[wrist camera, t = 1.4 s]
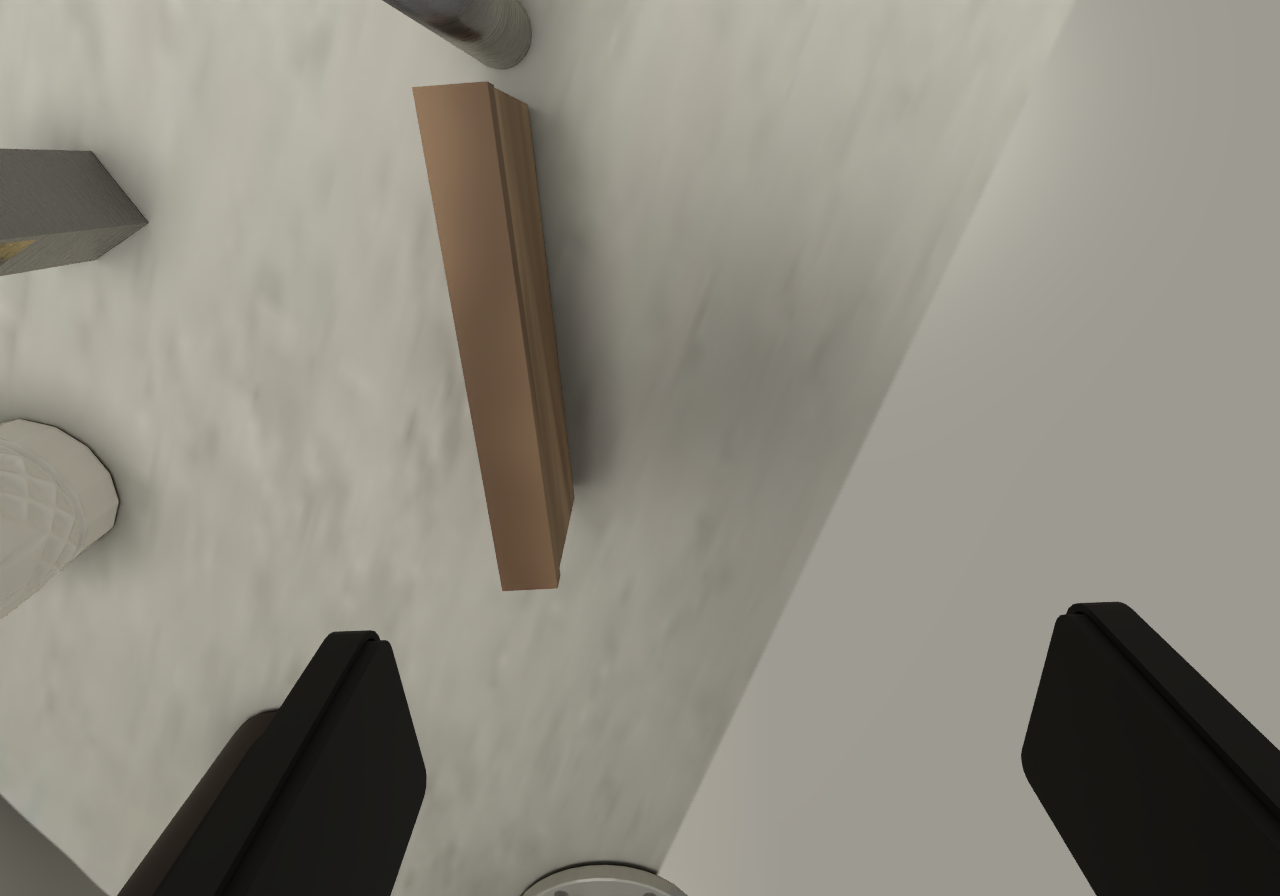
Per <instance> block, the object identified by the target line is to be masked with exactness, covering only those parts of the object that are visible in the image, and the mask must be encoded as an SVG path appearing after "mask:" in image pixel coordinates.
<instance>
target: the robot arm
mask: <svg viewBox="0 0 1280 896" xmlns="http://www.w3.org/2000/svg"><path fill="white" fill-rule="evenodd" d="M1021 759H1022V766H1023V770H1024V773H1025V775H1026V778H1027V780H1028V782H1029V783H1030V785H1031V787H1032V788H1033V790H1034V792H1035V793H1036V795H1037V796H1038V798H1039V800H1040V802H1041V803H1042V805H1043V807H1044V808H1045V810H1046V812H1047V813H1048V815H1049V817H1050V818H1051V820H1052V822H1053V823H1054V825H1055V827H1056V829H1057V830H1058V832H1059V834H1060V835H1061V837H1062V838H1063V840H1064V842H1065V844H1066V845H1067V847H1068V849H1069V850H1070V852H1071V853H1072V855H1073V857H1074V859H1075V860H1076V862H1077V864H1078V865H1079V867H1080V869H1081V870H1082V872H1083V874H1084V875H1085V877H1086V879H1087V880H1088V882H1089V884H1090V886H1091V887H1092V889H1093V890H1094V892H1095V894H1096V895H1097V896H1280V751H1279V750H1278V749H1277V748H1276V747H1275V746H1274V745H1273V744H1272V743H1271V742H1270V741H1269V740H1268V739H1267V738H1266V737H1265V736H1264V735H1262V733H1260V732H1259V731H1258V730H1257V729H1256V728H1255V727H1254V726H1253V725H1252V724H1251V723H1250V722H1249V721H1248V720H1247V719H1246V718H1245V717H1244V716H1243V715H1242V714H1241V713H1240V712H1239V711H1238V710H1237V709H1236V708H1234V706H1232V705H1231V704H1230V703H1229V702H1228V701H1227V700H1226V699H1225V698H1224V697H1223V696H1222V695H1221V694H1220V693H1219V692H1218V691H1217V690H1216V689H1215V688H1214V687H1213V686H1212V685H1211V684H1210V683H1209V682H1208V681H1206V680H1205V679H1204V678H1203V677H1202V676H1201V675H1200V674H1199V673H1198V672H1197V671H1196V670H1195V669H1194V668H1193V667H1192V666H1191V665H1190V664H1189V663H1188V662H1186V661H1185V659H1184V658H1183V657H1181V656H1180V655H1179V654H1178V653H1177V652H1176V651H1175V650H1174V649H1173V648H1172V647H1171V646H1170V645H1169V644H1168V643H1167V642H1166V641H1165V640H1164V639H1163V638H1162V637H1161V636H1160V635H1159V634H1158V633H1156V632H1155V631H1154V630H1153V629H1152V628H1151V627H1150V626H1149V625H1148V624H1147V623H1146V622H1145V621H1144V620H1143V619H1142V618H1141V617H1140V616H1139V615H1138V614H1137V613H1136V612H1135V611H1133V610H1132V609H1131V608H1130V607H1129V606H1127V605H1126V604H1124V603H1121V602H1100V603H1099V602H1098V603H1078V604H1073V605H1072V606H1071V607H1070V608H1069V609H1068V611H1067V613H1066V615H1060V616H1059V617H1058V618H1057V620H1056V623H1055V626H1054V630H1053V634H1052V638H1051V641H1050V645H1049V649H1048V653H1047V657H1046V661H1045V664H1044V668H1043V672H1042V676H1041V680H1040V684H1039V687H1038V691H1037V695H1036V699H1035V702H1034V706H1033V710H1032V714H1031V717H1030V721H1029V725H1028V729H1027V733H1026V736H1025V740H1024V744H1023V748H1022V753H1021ZM425 790H426V769H425V765H424V762H423V758H422V755H421V751H420V747H419V744H418V740H417V736H416V733H415V729H414V726H413V722H412V718H411V715H410V711H409V708H408V704H407V700H406V697H405V693H404V690H403V686H402V682H401V679H400V675H399V672H398V668H397V664H396V661H395V657H394V654H393V650H392V647H391V644H390V643H389V642H388V641H386V640H381V641H380V638H379V636H378V634H377V633H376V632H375V631H371V630H369V631H343V632H333V633H331V634H329V635H328V636H327V637H326V638H325V640H324V641H323V643H322V644H321V646H320V647H319V649H318V650H317V652H316V653H315V655H314V656H313V658H312V660H311V661H310V663H309V664H308V666H307V667H306V669H305V670H304V672H303V673H302V675H301V676H300V678H299V679H298V681H297V683H296V684H295V686H294V687H293V689H292V690H291V692H290V693H289V695H288V696H287V698H286V699H285V701H284V702H283V704H282V706H281V707H280V709H279V710H278V712H277V713H276V715H275V716H274V718H273V719H272V721H271V722H270V724H269V725H268V727H267V729H266V730H265V732H264V733H263V735H262V736H260V737H259V738H257V740H256V741H255V742H254V743H253V744H252V746H251V747H250V748H249V749H248V751H247V752H246V754H245V755H244V757H243V758H242V760H241V761H240V763H239V764H238V766H237V767H236V769H235V771H234V772H233V774H232V775H231V777H230V778H229V780H228V781H227V783H226V784H225V786H224V787H223V789H222V790H221V792H220V793H219V795H218V796H217V798H216V799H215V801H214V802H213V804H212V805H211V807H210V808H209V810H208V811H207V813H206V814H205V816H204V818H203V819H202V821H201V822H200V824H199V825H198V827H197V828H196V830H195V831H194V833H193V834H192V836H191V837H190V839H189V840H188V842H187V843H186V845H185V846H184V848H183V849H182V851H181V852H180V854H179V855H178V857H177V858H176V860H175V862H174V863H173V865H172V866H171V868H170V869H169V871H168V872H167V874H166V875H165V877H164V878H163V880H162V881H161V883H160V884H159V886H158V887H157V889H156V890H155V892H154V893H153V895H152V896H390V895H391V892H392V889H393V886H394V883H395V881H396V878H397V875H398V872H399V869H400V866H401V863H402V860H403V857H404V854H405V851H406V848H407V845H408V843H409V840H410V837H411V834H412V831H413V828H414V825H415V822H416V819H417V816H418V813H419V810H420V808H421V805H422V802H423V798H424V795H425ZM523 896H687V895H686V894H685V893H684V892H683V891H681V890H680V889H679V888H678V887H677V886H675V885H674V884H672V883H671V882H669V881H667V880H665V879H663V878H661V877H660V876H657V875H655V874H652V873H649V872H646V871H644V870H640V869H635V868H630V867H626V866H615V865H588V866H582V867H576V868H571V869H567V870H564V871H561V872H558V873H555V874H552V875H550V876H548V877H547V878H545V879H543V880H541V881H539V882H537V883H536V884H535V885H533V886H532V887H531V888H530V889H528V890H527V891H526V892H525V893H524V894H523Z"/></svg>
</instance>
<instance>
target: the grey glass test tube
mask: <svg viewBox="0 0 1280 896" xmlns="http://www.w3.org/2000/svg"><path fill="white" fill-rule="evenodd" d="M383 1H384V2H386V3H388V4H389V5H391V6H392V7H394V8H396V9H397V10H399V11H400V12H402V13H404V14H405V15H407V16H408V17H410V18H411V19H413V20H415V21H416V22H418V23H419V24H421V25H423V26H424V27H426V28H427V29H429V30H431V31H432V32H434V33H435V34H437V35H439V36H440V37H442V38H443V39H445V40H446V41H448V42H450V43H451V44H453V45H454V46H456V47H458V48H459V49H461V50H462V51H464V52H466V53H467V54H469V55H470V56H472V57H473V58H475V59H477V60H478V61H480V62H481V63H483V64H485V65H486V66H489V67H491V68H495V69H507V68H510V67H513V66H515V65H516V64H518V63H519V62H520V61H521V60H522V59H523V58H524V56H525V55H526V53H527V51H528V49H529V46H530V42H531V25H530V21H529V18H528V15H527V13H526V11H525V9H524V8H523V6H522V5H521V4H520V2H519V1H518V0H383Z"/></svg>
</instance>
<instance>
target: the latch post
mask: <svg viewBox="0 0 1280 896" xmlns="http://www.w3.org/2000/svg"><path fill="white" fill-rule="evenodd" d="M147 223H148V222H147V221H146V220H145V218H144V217H143V216H142V215H141V213H140V212H139V211H138V210H137V208H136V207H135V206H134V205H133V203H132V202H131V201H130V200H129V198H128V197H127V196H126V195H125V193H124V192H123V191H122V190H121V188H120V187H119V186H118V185H117V183H116V182H115V181H114V180H113V178H112V177H111V176H110V175H109V173H108V172H107V171H106V170H105V168H104V167H103V166H102V165H101V163H100V162H99V161H98V160H97V158H96V157H95V156H94V155H93V153H92V152H91V151H67V150H30V149H0V276H4V275H10V274H16V273H22V272H27V271H33V270H39V269H45V268H51V267H57V266H63V265H68V264H74V263H80V262H86V261H92V260H96V259H97V258H99V257H100V256H101V255H103V254H104V253H106V252H107V251H109V250H110V249H111V248H113V247H114V246H116V245H117V244H119V243H120V242H122V241H123V240H124V239H126V238H127V237H129V236H130V235H132V234H133V233H134V232H136V231H137V230H139V229H140V228H142V227H143V226H144V225H146V224H147Z"/></svg>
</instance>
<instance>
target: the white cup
mask: <svg viewBox="0 0 1280 896" xmlns="http://www.w3.org/2000/svg"><path fill="white" fill-rule="evenodd" d="M118 504H119V500H118V497H117V494H116V491H115V488H114V485H113V481H112V478H111V475H110V473H109V472H108V471H107V469H106V468H105V467H104V466H103V465H102V463H101V462H100V461H99V460H98V459H97V457H96V456H95V455H94V454H93V453H92V452H91V450H90V449H89V448H88V447H87V446H85V445H84V444H82V443H81V442H79V441H77V440H76V439H74V438H73V437H71V436H69V435H68V434H66V433H64V432H63V431H61V430H59V429H58V428H56V427H53V426H48V425H44V424H40V423H35V422H31V421H26V420H22V419H18V420H12V421H7V422H2V423H0V620H1V619H3V618H4V617H5V616H7V615H8V614H9V613H10V612H12V611H13V610H14V609H16V608H17V607H18V606H20V605H21V604H22V603H23V602H25V601H26V600H27V599H29V598H30V597H31V596H32V595H34V594H35V593H36V592H38V591H39V590H40V589H41V588H42V587H43V586H44V585H45V584H46V583H47V582H48V581H50V580H51V579H53V578H54V577H55V576H57V575H58V574H59V573H61V572H62V571H63V570H64V569H65V568H66V566H67V565H68V563H69V562H71V561H72V560H73V559H74V558H75V557H77V556H78V555H79V554H81V553H82V552H83V551H85V550H86V549H87V548H89V547H90V546H91V545H93V544H94V543H95V542H96V541H97V540H98V539H100V538H101V537H102V536H103V535H104V534H106V533H107V532H108V531H109V530H110V529H111V528H112V527H113V525H114V521H115V517H116V513H117V508H118Z"/></svg>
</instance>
